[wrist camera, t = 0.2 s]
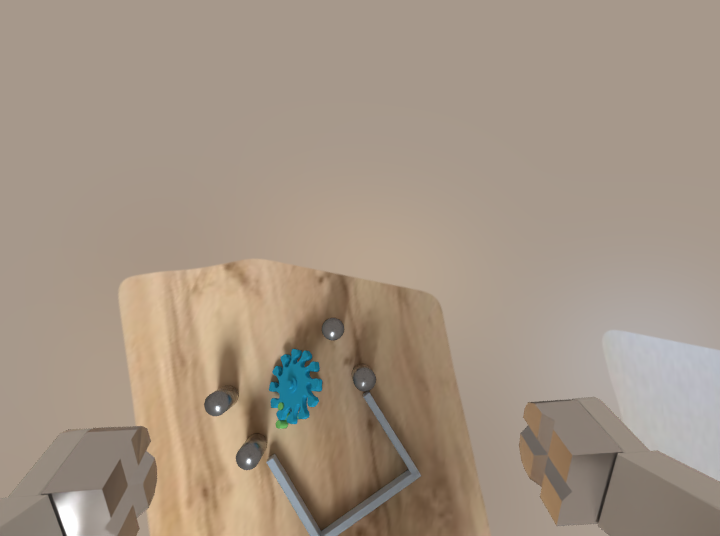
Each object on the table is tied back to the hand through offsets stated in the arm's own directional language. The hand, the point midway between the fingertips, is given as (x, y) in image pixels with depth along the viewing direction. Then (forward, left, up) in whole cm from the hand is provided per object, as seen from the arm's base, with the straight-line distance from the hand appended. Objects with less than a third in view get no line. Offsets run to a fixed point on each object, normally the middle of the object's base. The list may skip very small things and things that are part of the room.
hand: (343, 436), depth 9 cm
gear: (-2, +9, -54) cm, 55 cm away
